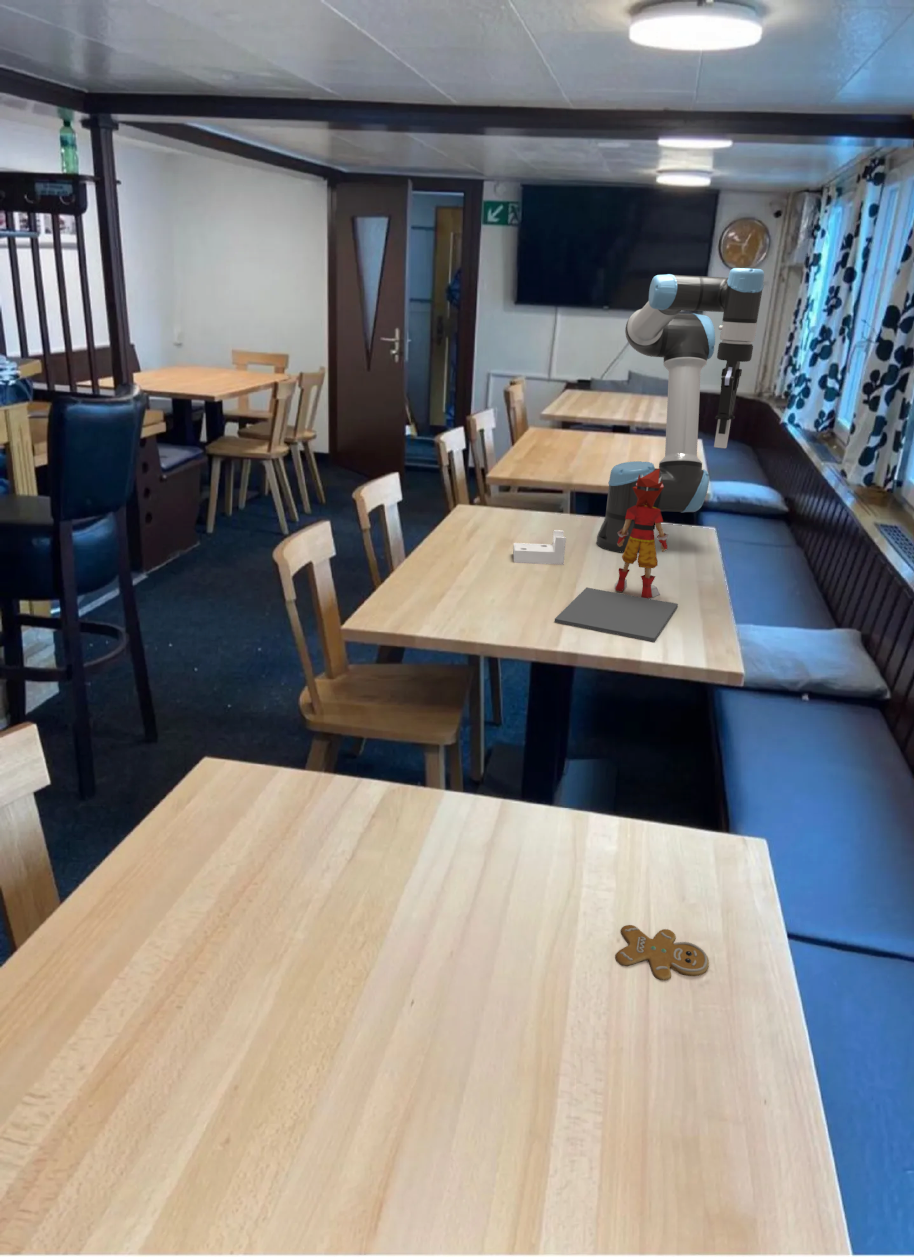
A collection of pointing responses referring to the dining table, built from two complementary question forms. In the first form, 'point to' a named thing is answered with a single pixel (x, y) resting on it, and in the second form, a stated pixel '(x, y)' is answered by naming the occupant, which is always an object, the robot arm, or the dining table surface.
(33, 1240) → the dining table surface
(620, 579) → the toy
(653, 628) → the mat
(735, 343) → the robot arm
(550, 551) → the bracket
